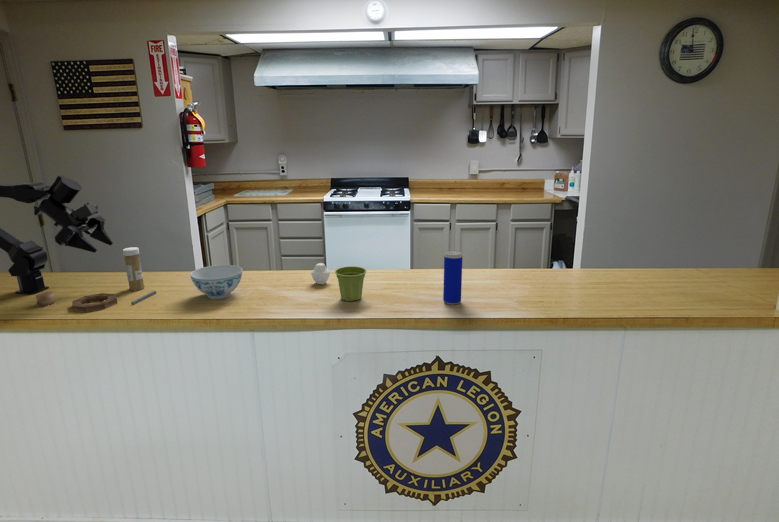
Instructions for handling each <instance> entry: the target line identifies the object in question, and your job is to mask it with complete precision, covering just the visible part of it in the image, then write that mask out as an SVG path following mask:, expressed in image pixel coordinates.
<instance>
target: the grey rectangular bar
mask: <svg viewBox="0 0 779 522" xmlns="http://www.w3.org/2000/svg"><path fill="white" fill-rule="evenodd" d="M156 294H157V291H156V290H153V291H151V292H148V293H147V294H145V295H142V296H141V297H139V298H137V299H135V300H134V299H133V300H132V301H131V302H130V303H131V304H132V305H133V306H134V305H136V304H138V303H139V302H142V301H144V300H146V299H148V298H150V297H152V296H154V295H156ZM131 304H130V305H131Z"/></svg>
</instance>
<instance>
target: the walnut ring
mask: <svg viewBox="0 0 779 522" xmlns="http://www.w3.org/2000/svg"><path fill="white" fill-rule="evenodd" d="M97 300H99V301H100V302H98V301H97ZM104 300H105V301H104ZM91 301H93V302H95V303H91ZM85 303H86V304H85ZM87 303H89V304H87ZM117 304H118V299H117V296H116V294H115V293H107V292H106V293H105V292H101V293H95V294H89V295H84V296H82V297H79V298H77V299H75V300H72V301H71V305H72V306H71V307H72V311H74V312H81V311H86V312H85V313H88V312H87V311H90V312H93V310H95V311H100V310H99V309H101V310H105V308H106V309H108V308H110V307H112V306H114V305H117ZM107 307H108V308H107Z"/></svg>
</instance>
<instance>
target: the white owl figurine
mask: <svg viewBox="0 0 779 522" xmlns="http://www.w3.org/2000/svg"><path fill="white" fill-rule="evenodd" d="M330 274H331V271H330V270H329V269H328V268H327V266H326V264H325V263H323V262H319V263H316V264H315V265H314V268H313V269H312V271H311V273H310V275H311V278H312V279H313V282H315V284H316V283H317V284H316V285H318V284H323V285H325V284H324V283H326V284H327V282H328V280H329V277H330Z"/></svg>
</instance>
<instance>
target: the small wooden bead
mask: <svg viewBox="0 0 779 522" xmlns="http://www.w3.org/2000/svg"><path fill="white" fill-rule="evenodd" d="M35 299H36V304H37V306H38V307H41V306H43V307H49V306H52V304H53V305H54V303H55V302H56V303H57V300H56V296H55V293H54V291H53V292H52V291H46V292H41V293H38V294H36V295H35ZM56 303H55V304H56ZM48 305H49V306H48Z"/></svg>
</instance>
